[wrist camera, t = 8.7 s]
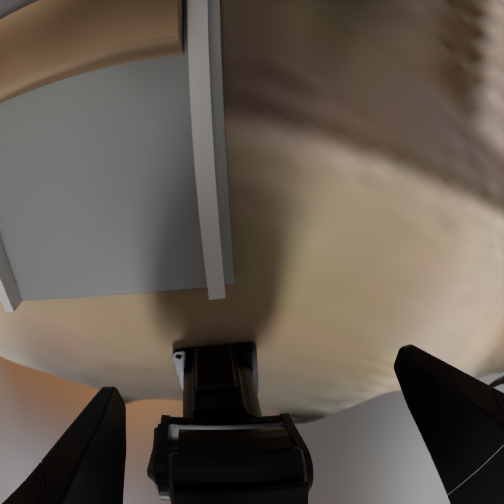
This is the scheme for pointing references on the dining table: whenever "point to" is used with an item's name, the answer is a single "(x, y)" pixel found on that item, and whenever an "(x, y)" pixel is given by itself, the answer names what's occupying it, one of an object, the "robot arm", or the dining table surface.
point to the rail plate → (119, 176)
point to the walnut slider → (83, 39)
